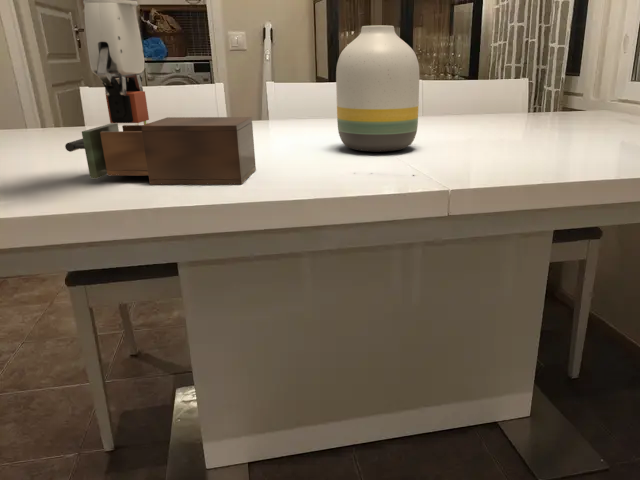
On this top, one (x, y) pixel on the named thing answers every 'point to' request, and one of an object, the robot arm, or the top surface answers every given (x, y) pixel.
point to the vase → (377, 91)
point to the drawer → (113, 150)
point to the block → (135, 106)
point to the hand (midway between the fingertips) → (129, 119)
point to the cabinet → (199, 150)
